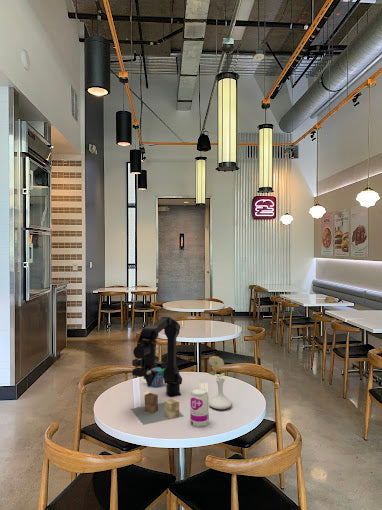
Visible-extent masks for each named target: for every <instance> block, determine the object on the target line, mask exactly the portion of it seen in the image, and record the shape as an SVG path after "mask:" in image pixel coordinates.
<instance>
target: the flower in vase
mask: <svg viewBox="0 0 382 510" xmlns="http://www.w3.org/2000/svg"><path fill="white" fill-rule="evenodd" d="M208 358H209V359H208V363H209V364H210V366H212V367H214V371H210V372H208V374H209V375H212V376H216V377H217V378H214V380H215V381H216V384H217V394H216V395H215V396H214V397H212V398H211V399H210V401H208V406H210V407H211V408H213V409H216V410H227V409H229V408H231V407H232V405H233V402H232V401H231V400H230V399H229V398H228V397H227V396H226V395H225V394H224V392H223V390H224V389H223V388H224V387H223V386H224V382H225V381H226V378H224V377H223V376H224V375H225V374H226V373H225V372H223V373H220V374H219V375H218V374H217V372H216V371H217V370H216V369H217V368H218V369H221V368H223V367H224V365H225V362H224V359H222V357H221V358H220V356H216V355H215V356H214V355H213V356H210V357H208Z"/></svg>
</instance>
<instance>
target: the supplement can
mask: <svg viewBox="0 0 382 510" xmlns="http://www.w3.org/2000/svg"><path fill="white" fill-rule="evenodd" d="M189 414H190V415H189V416H190V420H189V421H190V425H191V426H192V427H194V428H203V427H204V428H205V427H206V426H208V425H209V423H210V421H209V393H208V390H207V389H205V388H194V389H191V392H190V394H189Z"/></svg>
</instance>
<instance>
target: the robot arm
mask: <svg viewBox="0 0 382 510" xmlns="http://www.w3.org/2000/svg"><path fill="white" fill-rule="evenodd" d="M180 329H181V324H180V323H179V322H178V321H176V320H174V319H173V318H172V317H170V316H161V317H160V319H159V320H158V321H156V322H155V323H153V324H152V325H150V326H149V325H148V326H145V327H143V328H142V329H141V330H140V331H141V332H140V334H139V337H138V340H137V344H136V346H135V347H134V349H133V351H132V352H133V353H132V354H133V356H134V357H135V359H132V360H131V361H132V362H131V365H132V366H133V367H134V368H133V369H132V370H131V375H132V376H136V377H141V378H143V376H144V377H145V379H144V380H145V381H146V385H147V387H148V388H150V387H152V386H151V385H152V383H153V381H154V378H155V377H156V375H157V373H158V371H156V368H159V367H161V369H164V375H163V377H164V380H163V383H164V384H166V387H165V391H166V392H165V394H166V395H167V396H169V397H170V398H173V397H179V396H182V394H181V389H180V388H181V385H182V383H183V377H182V376H181V374H180V369H179V367H178V365H177V338H178V337H179V334H180V332H181V331H180ZM163 330H164V335H165V337H166V339H167V353H166V355H167V356H166V362H167V365H166V363H165V362H164V361H159V360H157V361H156V359H158V355H156V344H158V341H157V339H158V337H159V335H160V332H162V331H163Z"/></svg>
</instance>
